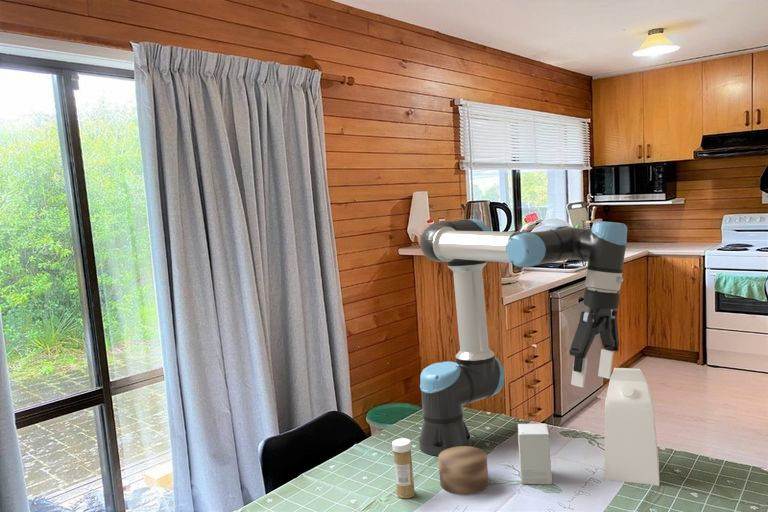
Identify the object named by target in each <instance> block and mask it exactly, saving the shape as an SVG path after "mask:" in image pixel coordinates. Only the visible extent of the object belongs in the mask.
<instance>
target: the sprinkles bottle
mask: <svg viewBox="0 0 768 512" xmlns="http://www.w3.org/2000/svg"><path fill="white" fill-rule="evenodd" d="M391 443H392V444H391V445H392V446H391V447H392V452H393V460H394V461H393V464H394V474H395V484H396V496H397V497H398V498H400V499H404V498H405V499H410V498H412V497H414V496H415V494H416V491H415V483H414V482H415V479H414V478H415V477H414V469H413V462H412V461H413V460H412V459H413V458H412V441H411V440H410V439H408V438H397V439H395V440H392V442H391Z"/></svg>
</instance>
